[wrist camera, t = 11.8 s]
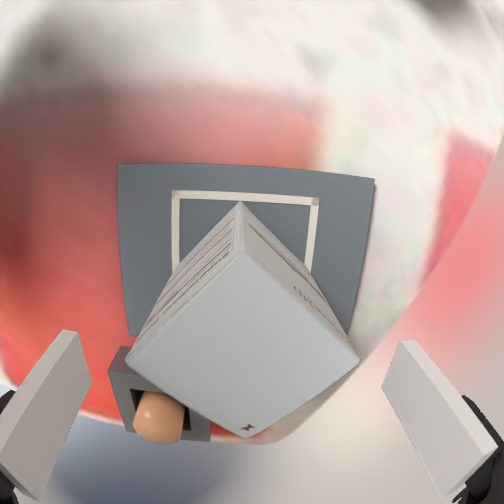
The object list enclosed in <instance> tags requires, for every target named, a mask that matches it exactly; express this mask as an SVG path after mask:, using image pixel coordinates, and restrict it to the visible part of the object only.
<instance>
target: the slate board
mask: <svg viewBox="0 0 504 504" xmlns="http://www.w3.org/2000/svg"><path fill="white" fill-rule="evenodd" d="M374 181H375V179H372V178H366V177H359V176H352V175H344V174H336V173H328V172H319V171H309V170H299V169H288V168H276V167H263V166H247V165H227V164H196V163H140V164H117V213H118V236H119V252H120V264H121V275H122V285H123V294H124V302H125V310H126V317H127V324H128V330H129V335H132V336H139V334H140V332H141V330H142V328H143V326H144V325H145V323H146V321H147V319H148V317H149V315H150V314H151V312H152V310H153V308H154V306H155V304H156V302H157V300H158V298H159V297H160V295H161V293H162V291H163V289H164V287H165V286H166V284H167V282H168V280H169V279H170V277H171V275H172V274H173V272H174V271H175V269H176V267H177V266H178V264H179V263H180V262H181V261H182V260H183V259H184V258H185V257H186V256H187V255H188V254H189V253H190V252H191V250H192V249H193V248H194V247H195V246H196V245H197V244H198V243H199V242H200V241H201V240H202V239H203V238H204V237H205V236H206V235H207V234H208V233H209V232H210V231H211V230H212V229H213V228H214V227H215V226H216V225H217V224H218V223H219V222H220V221H221V220H222V219H223V218H224V217H225V216H226V215H227V214H228V213H229V212H230V211H231V210H232V208H234V207H235V206H236V204H237V203H238V202H239V201H242V202H243V203H244V205H245V206H246V207H247V208H248V209H249V210H250V211H251V212H252V213H253V214H254V215H255V216H256V217H257V218H258V219H259V220H260V221H261V222H262V223H263V224H264V225H265V226H266V227H267V228H268V229H269V230H270V231H271V232H272V233H273V234H274V235H275V236H276V237H277V238H278V239H279V240H280V241H281V242H282V243H283V244H284V245H285V247H286V248H287V249H288V250H290V251H291V252H292V253H293V254H294V255H295V256H296V257H297V258H298V259H299V260H300V261H302V262H303V263H304V264H305V266H306V267H307V269H308V271H309V272H310V274H311V276H312V277H313V279H314V281H315V282H316V284H317V286H318V287H319V289H320V291H321V292H322V294H323V296H324V297H325V299H326V301H327V303H328V304H329V306H330V308H331V310H332V311H333V313H334V315H335V317H336V318H337V320H338V322H339V323H340V325H341V327H342V329H343V330H344V332H345V334H346V336H347V334H348V330H349V325H350V321H351V317H352V313H353V308H354V304H355V299H356V295H357V290H358V285H359V280H360V275H361V270H362V265H363V259H364V253H365V247H366V241H367V235H368V229H369V222H370V215H371V207H372V199H373V191H374Z"/></svg>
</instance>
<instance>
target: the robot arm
mask: <svg viewBox="0 0 504 504" xmlns="http://www.w3.org/2000/svg"><path fill="white" fill-rule="evenodd" d="M92 383H93V381H92V378H91V375H90V372H89V369H88V366H87V363H86V359H85V356H84V352H83V349H82V345H81V342H80V338H79V334H78V332H76V331H70V330H64V329H63V330H62V331H61V332H60V334H59V335H58V336H57V337H56V339H55V340H54V341H53V342H52V344H51V345H50V346H49V347H48V349H47V350H46V351H45V353H44V354H43V355H42V356H41V358H40V359H39V360H38V362H37V363H36V364H35V366H34V367H33V368H32V370H31V371H30V373H29V374H28V375H27V377H26V378H25V380H24V381H23V382H22V384H21V385H20V387H19V388H18V389H17V391H13V390H10V391H8V392H7V393H6V394H4V395H3V396H2V397H1V398H0V504H19V502H18V500H17V497H16V495H15V493H14V492H13V490H14V487H16V488H17V489H18V490H19V491H21V492H22V493H23V494H24V495H26V496H28V497H30V498H32V499H35V500H37V501H39V502H41V499H42V497H43V494H44V492H45V489H46V486H47V484H48V481H49V478H50V476H51V473H52V471H53V468H54V466H55V463H56V461H57V459H58V456H59V453H60V451H61V449H62V447H63V444H64V442H65V440H66V438H67V435H68V433H69V431H70V429H71V426H72V424H73V422H74V420H75V418H76V416H77V414H78V411H79V409H80V407H81V405H82V403H83V401H84V399H85V397H86V395H87V393H88V391H89V389H90V387H91V385H92ZM382 390H383V391H384V393H385V395H386V397H387V398H388V400H389V402H390V404H391V405H392V407H393V409H394V411H395V413H396V414H397V416H398V418H399V420H400V422H401V423H402V425H403V427H404V429H405V431H406V433H407V434H408V436H409V438H410V440H411V442H412V444H413V446H414V447H415V449H416V451H417V453H418V455H419V457H420V459H421V461H422V463H423V465H424V466H425V469H426V471H427V473H428V474H429V476H430V478H431V480H432V482H433V484H434V486H435V488H436V490H437V492H438V494H439V497H440V498H442V497H444V496H447V495H448V494H450V493H453V492H454V491H456V490H457V489H458V488H459V487H460V486H461V485H463V484H464V483H465V484H466V486H467V487H466V488H465V489H463V490H462V491H461V492H460V493H459V494H458V495H457V496H456V497H455V498H454V499H453V501H452V503H454V502H456V501H457V500H458V499H459V498H460V497H462V498H461V500H460V501H459V502H458V504H504V441H503V440H502V439H501V437H500V436H499V434H498V433H497V432H496V430H495V429H494V428H493V426H492V425H491V424H490V422H489V421H488V420H487V419H485V418H486V417H485V416H484V414H483V413H482V412H480V409H479V408H478V407H477V405H476V404H475V403H474V402H473V401H472V400H470V399H469V398H468V397H466V396H465V395H463V396H460V394H459V393H458V392H457V391H456V389H455V388H454V387H453V386H452V384H451V383H450V382H449V380H448V379H447V378H446V377H445V376H444V374H443V373H442V372H441V371H440V369H439V368H438V367H437V366H436V364H435V363H434V362H433V361H432V360H431V358H430V357H429V356H428V355H427V354H426V352H425V351H423V349H422V348H421V347H420V345H419V344H418V343H417V342H416V341H415V340H414V339H405V340H400V341H399V343H398V346H397V349H396V352H395V354H394V357H393V360H392V362H391V365H390V367H389V370H388V372H387V375H386V377H385V380H384V382H383V384H382Z"/></svg>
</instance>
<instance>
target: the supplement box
mask: <svg viewBox="0 0 504 504" xmlns="http://www.w3.org/2000/svg"><path fill="white" fill-rule="evenodd" d="M125 362H126V363H127V365H128V366H129V367H130V368H131V369H133V370H134V371H136V372H137V373H138V374H140V375H141V376H142V377H144V378H145V379H147V380H148V381H150V382H151V383H153V384H154V385H155V386H157V387H158V388H160V389H161V390H163V391H164V392H165V393H167V394H168V395H170V396H172V397H173V398H175V399H176V400H178V401H179V402H181V403H182V404H184V405H186V406H187V407H188V408H190V409H191V410H193V411H195V412H196V413H198V414H200V415H202V416H204V417H205V418H207V419H209V420H210V421H212V422H214V423H216V424H218V425H219V426H221V427H223V428H225V429H226V430H228V431H230V432H232V433H234V434H236V435H238V436H239V437H241V438H243V439H247V438H249V437H251V436H253V435H255V434H257V433H259V432H261V431H263V430H264V429H266V428H268V427H269V426H271V425H273V424H274V423H276V422H278V421H279V420H281V419H282V418H284V417H285V416H287V415H289V414H290V413H292V412H293V411H295V410H296V409H298V408H299V407H301V406H302V405H304V404H305V403H307V402H308V401H310V400H311V399H312V398H314V397H315V396H317V395H318V394H320V393H321V392H322V391H324V390H325V389H326V388H328V387H329V386H330V385H332V384H333V383H335V382H336V381H337V380H338V379H340V378H341V377H343V376H344V375H345V374H346V373H348V372H349V371H350V370H351V369H352V368H354V367H355V366H356V365H357V364H358V363H359V362H360V358H359V356H358V355H357V353H356V352H355V350H354V348H353V346H352V344H351V343H350V341H349V339H348V337H347V336H346V334H345V332H344V330H343V329H342V327H341V325H340V323H339V322H338V320H337V318H336V317H335V315H334V313H333V311H332V310H331V308H330V306H329V304H328V303H327V301H326V299H325V297H324V296H323V294H322V292H321V291H320V289H319V287H318V286H317V284H316V282H315V281H314V279H313V277H312V276H311V274H310V272H309V271H308V269H307V267H306V266H305V264H304V263H303V262H302V261H300V260H299V259H298V258H297V257H296V256H295V255H294V254H293V253H292V252H291V251H290V250H288V249H287V248H286V247H285V245H284V244H283V243H282V242H281V241H280V240H279V239H278V238H277V237H276V236H275V235H274V234H273V233H272V232H271V231H270V230H269V229H268V228H267V227H266V226H265V225H264V224H263V223H262V222H261V221H260V220H259V219H258V218H257V217H256V216H255V215H254V214H253V213H252V212H251V211H250V210H249V209H248V208H247V207H246V206H245V205H244V203H243V202H242V201H239V202H238V203H237V204H236V206H235V207H234V208H232V210H231V211H230V212H229V213H228V214H227V215H226V216H225V217H224V218H223V219H222V220H221V221H220V222H219V223H218V224H217V225H216V226H215V227H214V228H213V229H212V230H211V231H210V232H209V233H208V234H207V235H206V236H205V237H204V238H203V239H202V240H201V241H200V242H199V243H198V244H197V245H196V246H195V247H194V248H193V249H192V250H191V252H190V253H189V254H188V255H187V256H186V257H185V258H184V259H183V260H182V261H181V262H180V263H179V264H178V266H177V267H176V269H175V271H174V272H173V274H172V275H171V277H170V279H169V280H168V282H167V284H166V286H165V287H164V289H163V291H162V293H161V295H160V297H159V298H158V300H157V302H156V304H155V306H154V308H153V310H152V312H151V314H150V315H149V317H148V319H147V321H146V323H145V325H144V326H143V328H142V330H141V332H140V334H139V336H138V338H137V340H136V342H135V343H134V345H133V347H132V348H131V350H130V352H129V353H128V355H127V356H126V358H125Z"/></svg>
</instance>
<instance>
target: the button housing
mask: <svg viewBox="0 0 504 504" xmlns="http://www.w3.org/2000/svg"><path fill="white" fill-rule="evenodd" d="M131 348H132V347H126V346H120V348H119V350H118V352H117V354H116V355H115V357H114V359H113V361H112V363H111V365H110V367H109V369H108V375H109V378H110V382H111V385H112V389H113V392H114V395H115V399H116V402H117V405H118V408H119V411H120V414H121V417H122V420H123V422H124V425H125V428H126V431H127V432H133V433H137V432H136V431H135V429H134V427H133V421H134V418H135V415H136V412H137V409H138V406H139V403H140V400H141V397H142V394H143V391H152V392H160V393H165V392H164V391H163V390H161V389H160V388H158V387H157V386H155V385H154V384H153V383H151V382H150V381H148V380H147V379H145V378H144V377H142V376H141V375H140V374H138V373H137V372H136V371H134V370H133V369H131V368H130V367H129V366H128V365H127V363H126V362H125V358H126V356H127V355H128V353H129V352H130V350H131ZM211 422H212V421H210V420H209V419H207V418H205V417H204V416H202V415H200V414H198V413H196V412H195V411H193V410H191V409H190V408H188V407H187V406H186V408H185V414H184V420H183V426H182V433H181V438H180V439H182V440H192V441H205V442H210V437H211Z"/></svg>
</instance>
